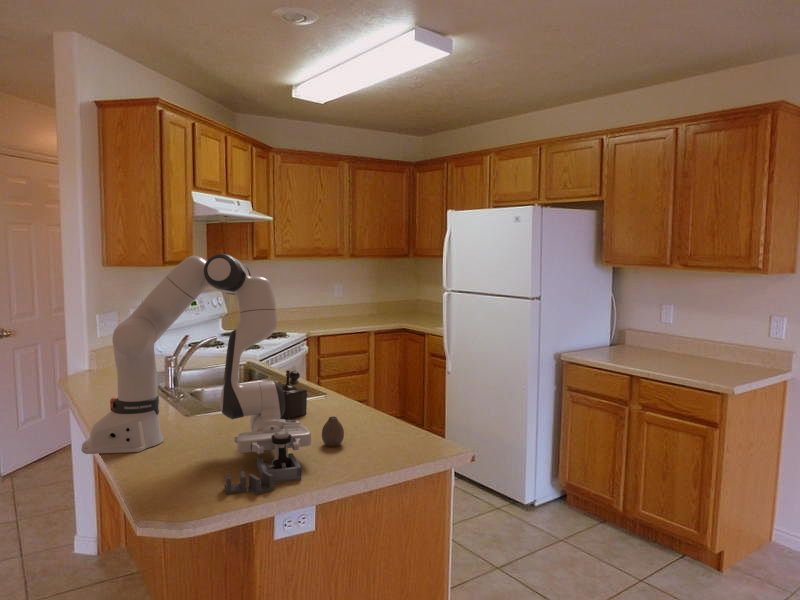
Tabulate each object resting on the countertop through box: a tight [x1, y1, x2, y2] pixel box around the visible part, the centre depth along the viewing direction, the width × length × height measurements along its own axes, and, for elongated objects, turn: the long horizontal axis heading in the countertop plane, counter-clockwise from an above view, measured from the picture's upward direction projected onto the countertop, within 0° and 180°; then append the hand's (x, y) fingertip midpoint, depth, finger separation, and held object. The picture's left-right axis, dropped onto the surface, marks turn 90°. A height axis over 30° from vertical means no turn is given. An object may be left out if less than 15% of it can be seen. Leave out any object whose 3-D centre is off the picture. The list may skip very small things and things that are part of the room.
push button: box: [268, 431, 291, 470], centre depth 156 cm, size 7×5×10 cm
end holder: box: [256, 453, 302, 484], centre depth 155 cm, size 10×12×3 cm
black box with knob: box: [280, 369, 308, 420], centre depth 209 cm, size 16×11×18 cm
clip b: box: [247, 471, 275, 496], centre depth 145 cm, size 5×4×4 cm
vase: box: [321, 416, 345, 448], centre depth 179 cm, size 7×7×9 cm
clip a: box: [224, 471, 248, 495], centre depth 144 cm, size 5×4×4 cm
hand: (278, 449), depth 154 cm, fingers open, 8 cm apart
